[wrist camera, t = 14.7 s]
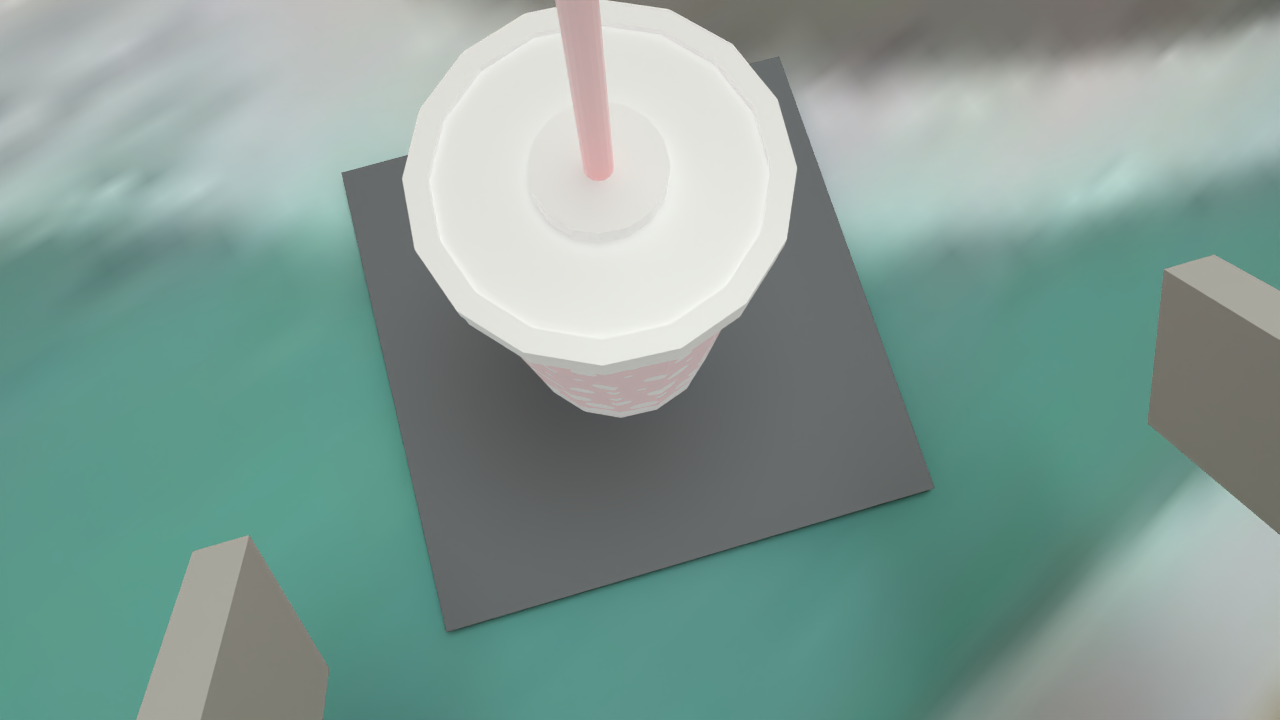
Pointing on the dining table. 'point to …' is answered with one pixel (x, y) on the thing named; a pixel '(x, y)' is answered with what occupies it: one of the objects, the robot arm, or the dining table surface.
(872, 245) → the dining table surface
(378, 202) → the mat
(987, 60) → the dining table surface
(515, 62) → the beverage cup
